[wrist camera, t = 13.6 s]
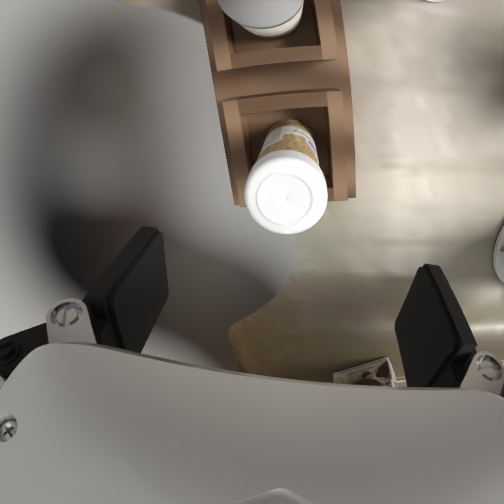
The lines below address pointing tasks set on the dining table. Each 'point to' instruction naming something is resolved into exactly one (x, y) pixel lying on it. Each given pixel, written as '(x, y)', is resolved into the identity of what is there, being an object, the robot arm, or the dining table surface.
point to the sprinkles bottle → (287, 180)
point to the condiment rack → (281, 82)
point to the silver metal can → (434, 0)
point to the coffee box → (368, 374)
